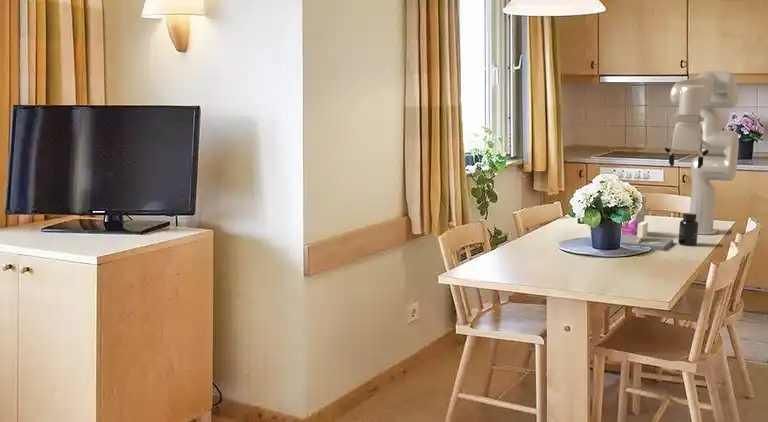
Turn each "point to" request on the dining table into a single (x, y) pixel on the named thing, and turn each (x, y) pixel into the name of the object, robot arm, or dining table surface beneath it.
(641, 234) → the white ice pop
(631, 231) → the candy bar box
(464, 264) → the dining table surface
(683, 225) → the supplement bottle
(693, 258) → the dining table surface
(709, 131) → the robot arm
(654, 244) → the slate dial board
